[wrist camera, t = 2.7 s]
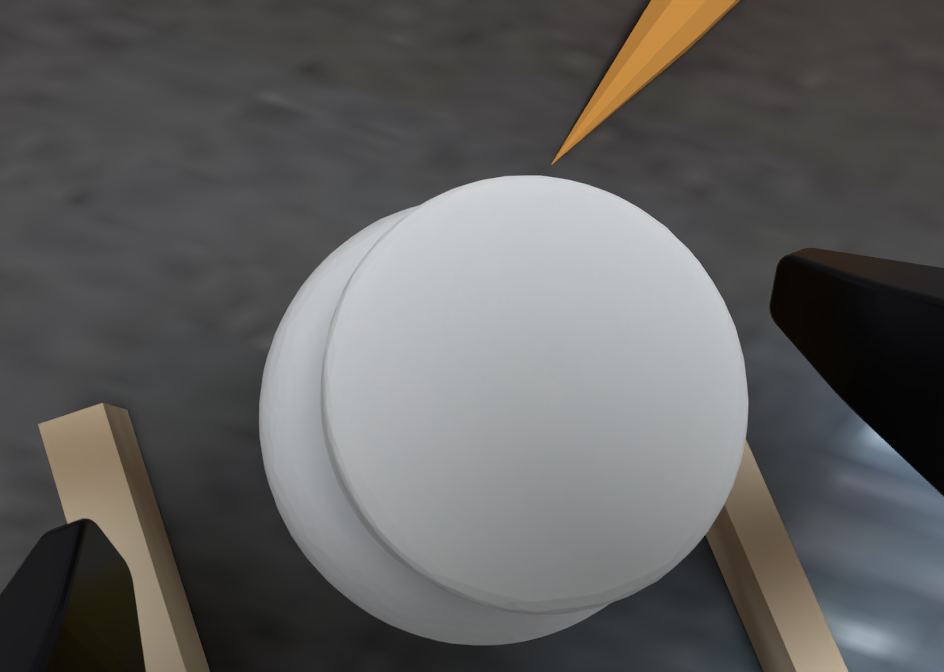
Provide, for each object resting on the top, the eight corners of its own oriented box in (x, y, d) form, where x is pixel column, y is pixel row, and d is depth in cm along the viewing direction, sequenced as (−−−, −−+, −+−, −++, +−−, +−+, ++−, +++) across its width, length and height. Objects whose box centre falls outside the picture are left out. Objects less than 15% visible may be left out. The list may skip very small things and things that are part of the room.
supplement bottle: (553, 531, 16) (907, 637, 6) (321, 584, 14) (262, 832, 5) (509, 310, 17) (746, 75, 7) (287, 342, 15) (177, 113, 5)
